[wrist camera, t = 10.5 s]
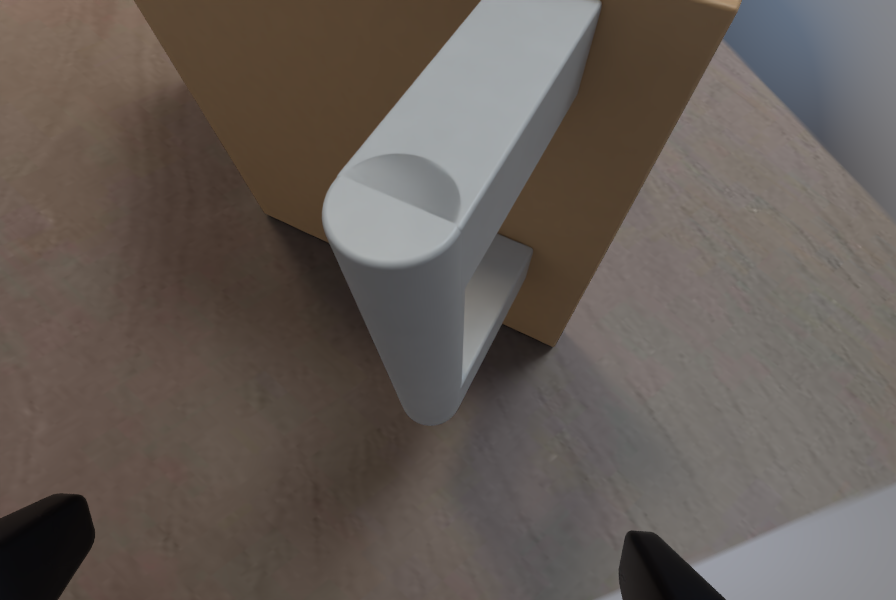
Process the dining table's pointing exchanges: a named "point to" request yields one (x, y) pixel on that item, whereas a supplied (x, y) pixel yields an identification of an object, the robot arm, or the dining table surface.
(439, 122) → the fridge door
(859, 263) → the dining table surface
